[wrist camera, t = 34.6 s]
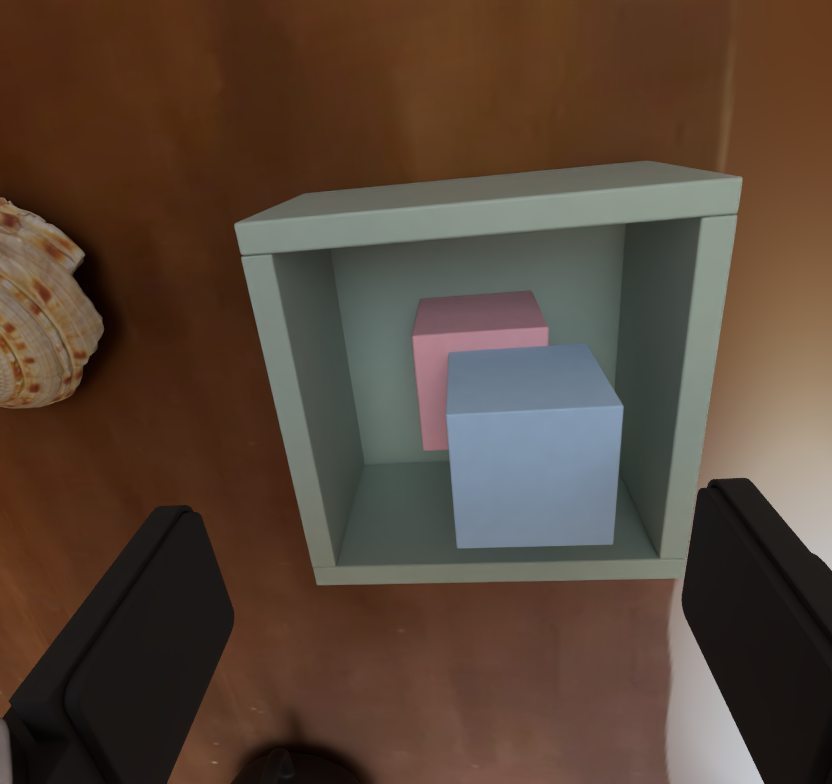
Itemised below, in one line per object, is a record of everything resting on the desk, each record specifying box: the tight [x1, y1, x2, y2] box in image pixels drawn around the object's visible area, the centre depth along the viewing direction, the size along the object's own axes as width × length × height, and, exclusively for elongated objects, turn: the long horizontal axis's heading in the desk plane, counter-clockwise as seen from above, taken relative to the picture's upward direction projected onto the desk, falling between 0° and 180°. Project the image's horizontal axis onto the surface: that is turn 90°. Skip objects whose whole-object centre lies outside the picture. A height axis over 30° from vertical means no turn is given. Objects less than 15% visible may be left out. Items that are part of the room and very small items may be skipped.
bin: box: [234, 160, 742, 585], centre depth 18 cm, size 12×12×7 cm
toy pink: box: [412, 291, 549, 451], centre depth 19 cm, size 4×4×4 cm
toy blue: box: [446, 343, 624, 549], centre depth 15 cm, size 4×4×4 cm
